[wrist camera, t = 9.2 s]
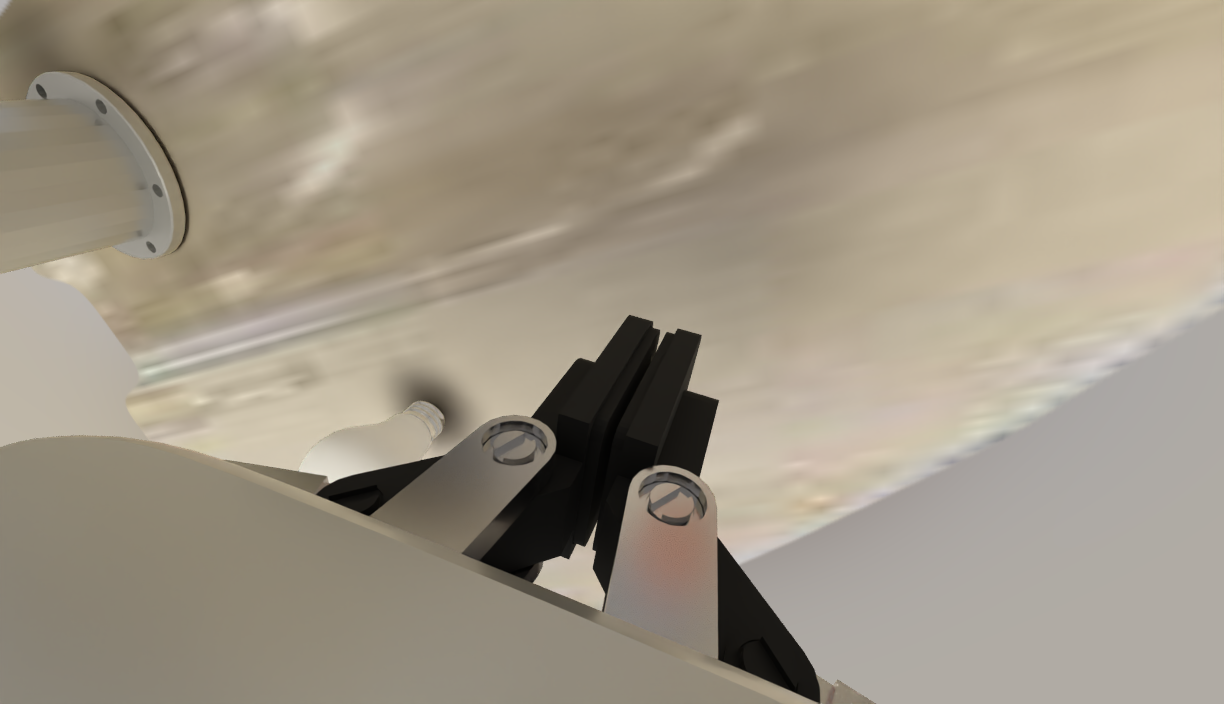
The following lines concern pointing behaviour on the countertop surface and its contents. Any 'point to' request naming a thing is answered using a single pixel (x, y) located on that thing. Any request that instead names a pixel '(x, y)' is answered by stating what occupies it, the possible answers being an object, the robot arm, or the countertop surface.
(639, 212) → the countertop surface
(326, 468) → the light bulb
